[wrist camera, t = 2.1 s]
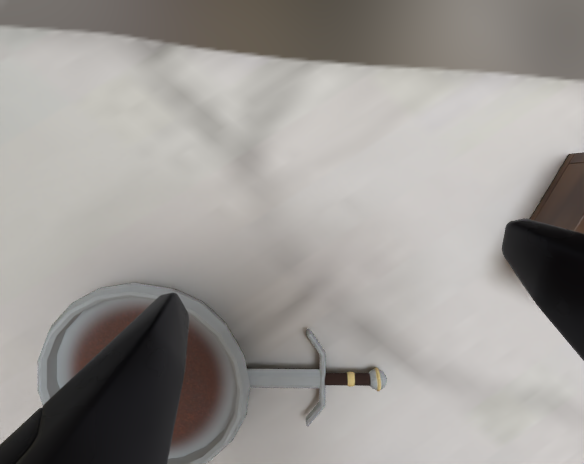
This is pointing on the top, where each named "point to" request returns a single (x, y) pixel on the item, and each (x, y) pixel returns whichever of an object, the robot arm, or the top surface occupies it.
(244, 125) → the top surface
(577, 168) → the divided wooden tray
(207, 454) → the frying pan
